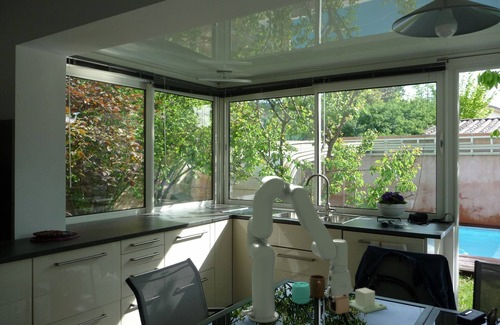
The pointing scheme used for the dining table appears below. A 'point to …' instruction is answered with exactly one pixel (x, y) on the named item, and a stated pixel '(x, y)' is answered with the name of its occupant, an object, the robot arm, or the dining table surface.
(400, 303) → the dining table surface
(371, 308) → the tower plate
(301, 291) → the turquoise cylinder
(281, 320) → the dining table surface
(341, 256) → the robot arm
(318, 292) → the mug
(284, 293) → the dining table surface
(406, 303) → the dining table surface
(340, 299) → the orange tan cube
